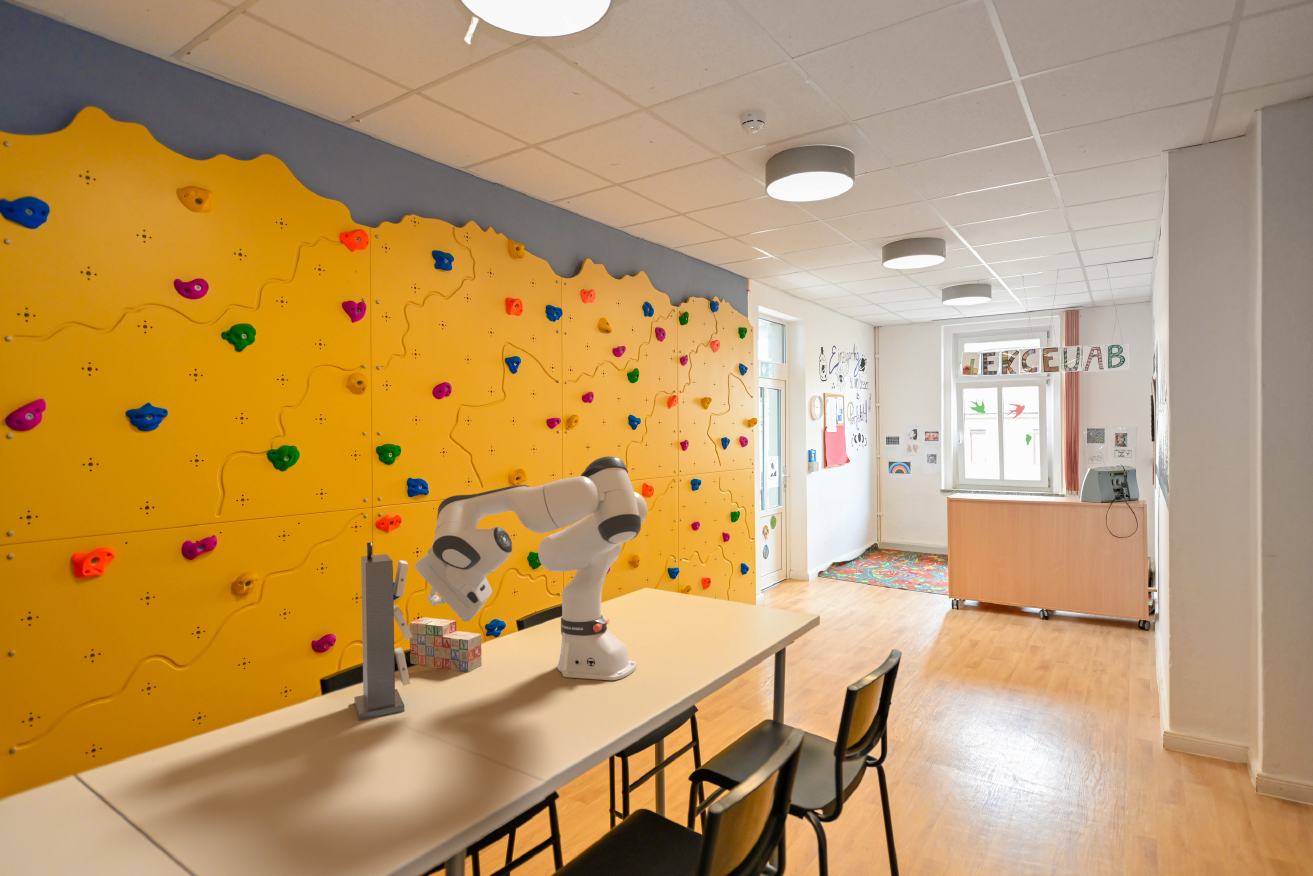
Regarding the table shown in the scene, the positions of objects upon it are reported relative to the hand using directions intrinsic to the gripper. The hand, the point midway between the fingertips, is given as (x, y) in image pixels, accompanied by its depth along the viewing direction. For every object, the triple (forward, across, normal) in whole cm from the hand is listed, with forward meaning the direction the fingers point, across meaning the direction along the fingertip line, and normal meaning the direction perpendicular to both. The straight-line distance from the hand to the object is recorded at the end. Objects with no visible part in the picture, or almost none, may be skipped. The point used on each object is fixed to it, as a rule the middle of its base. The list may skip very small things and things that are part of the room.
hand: (431, 601), depth 173 cm
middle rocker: (+5, +3, -9) cm, 10 cm away
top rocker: (0, -7, -7) cm, 10 cm away
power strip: (+18, +11, -18) cm, 27 cm away
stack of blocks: (+24, +17, +12) cm, 32 cm away
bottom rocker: (+12, +11, -12) cm, 20 cm away
